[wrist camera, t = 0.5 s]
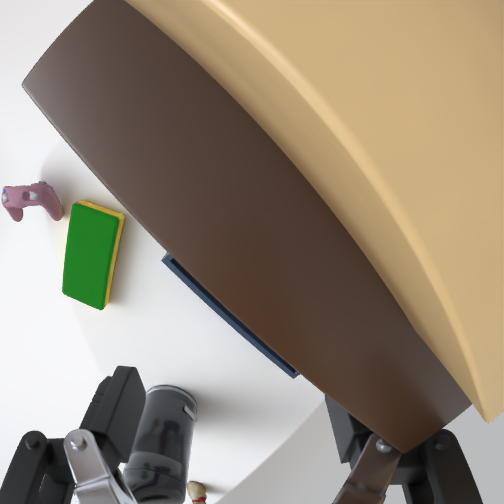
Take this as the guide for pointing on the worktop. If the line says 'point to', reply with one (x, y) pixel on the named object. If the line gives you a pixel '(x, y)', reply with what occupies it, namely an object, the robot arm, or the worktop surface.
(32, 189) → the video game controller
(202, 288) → the tray
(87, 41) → the stand
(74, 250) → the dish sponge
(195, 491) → the chocolate bunny
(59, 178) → the worktop surface
